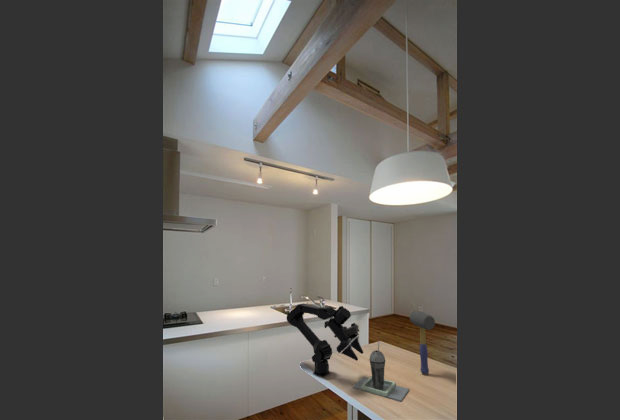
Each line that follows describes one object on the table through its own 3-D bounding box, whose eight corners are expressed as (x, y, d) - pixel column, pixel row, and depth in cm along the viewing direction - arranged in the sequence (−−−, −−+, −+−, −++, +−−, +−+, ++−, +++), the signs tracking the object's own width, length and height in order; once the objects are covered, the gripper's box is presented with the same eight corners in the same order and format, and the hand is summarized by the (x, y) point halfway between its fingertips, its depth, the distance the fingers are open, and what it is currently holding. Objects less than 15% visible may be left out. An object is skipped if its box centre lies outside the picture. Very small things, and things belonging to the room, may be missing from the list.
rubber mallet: (439, 378, 140) (435, 314, 144) (426, 380, 138) (423, 315, 142) (423, 368, 152) (420, 309, 156) (410, 370, 150) (408, 310, 154)
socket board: (352, 387, 131) (352, 383, 131) (363, 377, 141) (363, 374, 141) (401, 402, 119) (400, 397, 119) (409, 390, 129) (408, 385, 129)
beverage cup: (367, 384, 132) (365, 339, 135) (380, 382, 135) (378, 337, 138) (375, 392, 126) (374, 344, 128) (389, 389, 128) (388, 342, 131)
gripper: (342, 323, 132) (366, 352, 126) (354, 314, 149) (376, 339, 143) (326, 338, 135) (349, 368, 129) (340, 328, 151) (361, 353, 145)
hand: (360, 356), depth 136 cm, fingers open, 9 cm apart
